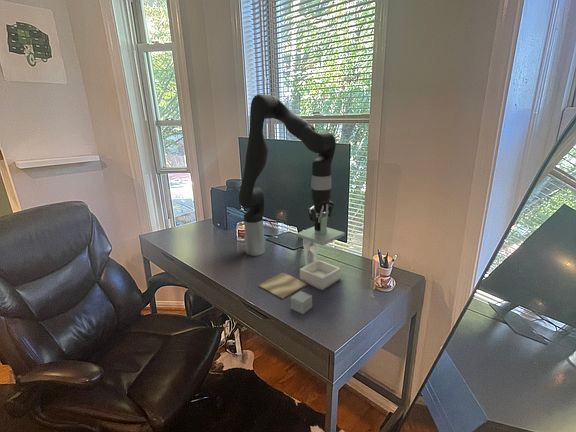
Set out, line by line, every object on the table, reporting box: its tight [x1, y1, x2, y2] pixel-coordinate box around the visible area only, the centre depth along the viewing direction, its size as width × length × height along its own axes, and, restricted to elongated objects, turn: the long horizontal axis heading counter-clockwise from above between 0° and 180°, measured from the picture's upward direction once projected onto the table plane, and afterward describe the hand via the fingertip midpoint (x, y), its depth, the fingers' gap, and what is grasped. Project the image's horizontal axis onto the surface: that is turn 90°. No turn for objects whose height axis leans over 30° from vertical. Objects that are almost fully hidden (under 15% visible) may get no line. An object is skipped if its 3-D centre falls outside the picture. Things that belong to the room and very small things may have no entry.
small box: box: [290, 290, 313, 315], centre depth 113 cm, size 6×6×5 cm
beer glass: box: [302, 239, 320, 267], centre depth 142 cm, size 7×7×15 cm
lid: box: [296, 215, 346, 247], centre depth 125 cm, size 14×14×8 cm
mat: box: [257, 272, 308, 300], centre depth 128 cm, size 14×14×1 cm
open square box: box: [299, 259, 342, 291], centre depth 131 cm, size 12×12×5 cm
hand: (320, 229), depth 125 cm, fingers closed on lid, 3 cm apart
